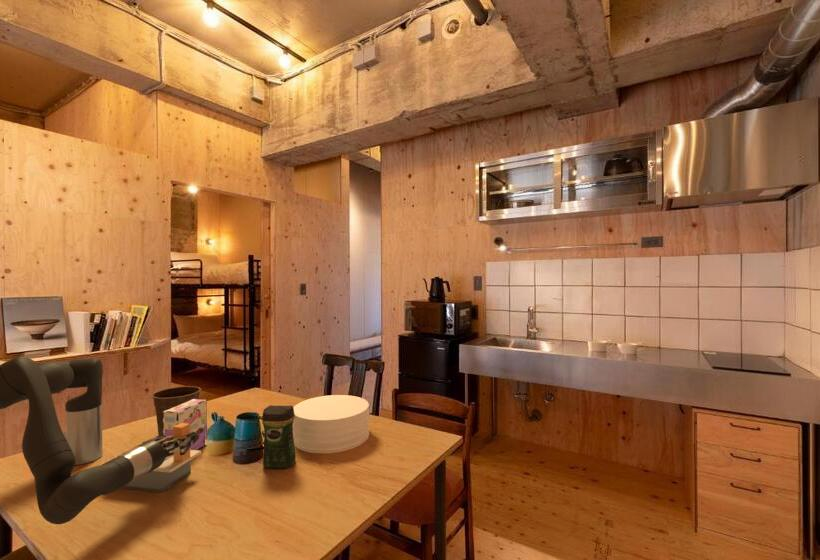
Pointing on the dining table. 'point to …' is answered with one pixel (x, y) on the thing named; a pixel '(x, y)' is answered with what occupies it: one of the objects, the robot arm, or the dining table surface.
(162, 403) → the plant pot
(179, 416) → the candy box
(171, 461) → the lid
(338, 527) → the dining table surface
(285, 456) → the coffee jar
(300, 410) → the plate stack
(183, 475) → the tub
